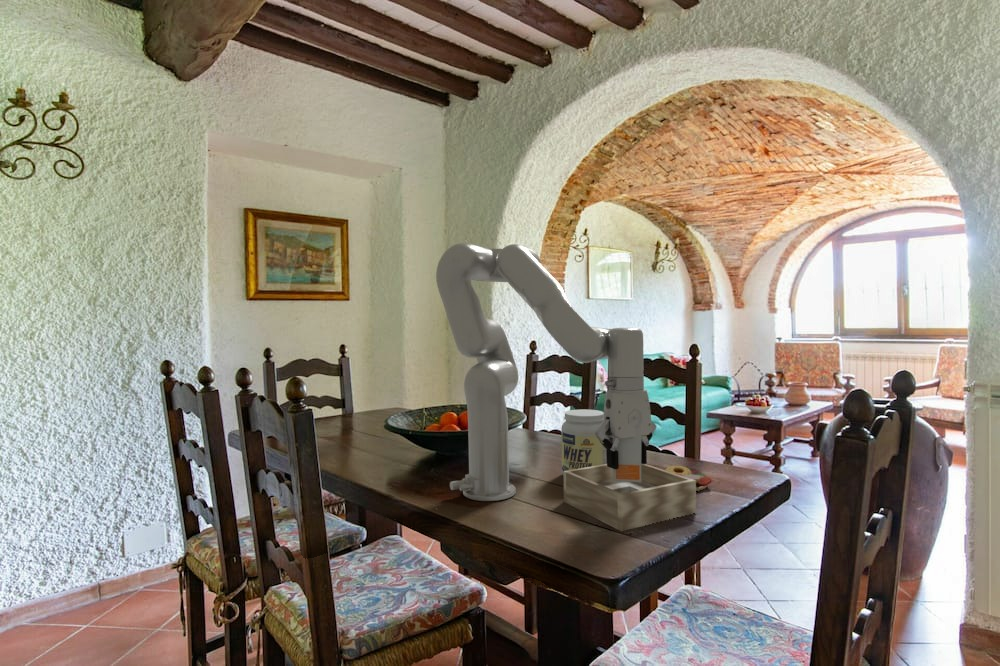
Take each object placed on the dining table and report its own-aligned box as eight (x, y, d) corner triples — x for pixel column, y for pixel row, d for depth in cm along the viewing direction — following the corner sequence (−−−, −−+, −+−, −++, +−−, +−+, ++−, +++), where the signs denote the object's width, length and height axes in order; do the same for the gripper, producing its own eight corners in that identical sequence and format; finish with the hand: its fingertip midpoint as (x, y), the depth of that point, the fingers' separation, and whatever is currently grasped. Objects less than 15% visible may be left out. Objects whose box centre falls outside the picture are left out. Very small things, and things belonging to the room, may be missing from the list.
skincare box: (613, 481, 119) (612, 426, 119) (612, 476, 124) (612, 423, 123) (642, 482, 118) (641, 427, 118) (640, 477, 123) (640, 423, 122)
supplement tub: (554, 479, 143) (553, 414, 142) (571, 468, 154) (570, 407, 153) (600, 485, 137) (599, 417, 137) (614, 473, 148) (613, 410, 147)
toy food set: (675, 475, 146) (675, 463, 146) (721, 487, 135) (721, 474, 135) (642, 485, 138) (642, 472, 138) (688, 498, 127) (688, 484, 127)
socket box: (621, 531, 108) (620, 495, 108) (563, 501, 126) (563, 471, 125) (696, 513, 117) (695, 480, 117) (632, 488, 135) (632, 459, 134)
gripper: (604, 389, 113) (605, 475, 114) (668, 383, 121) (669, 463, 122) (583, 385, 120) (584, 466, 120) (644, 380, 128) (645, 456, 128)
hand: (626, 464), depth 121 cm, fingers closed on skincare box, 7 cm apart
